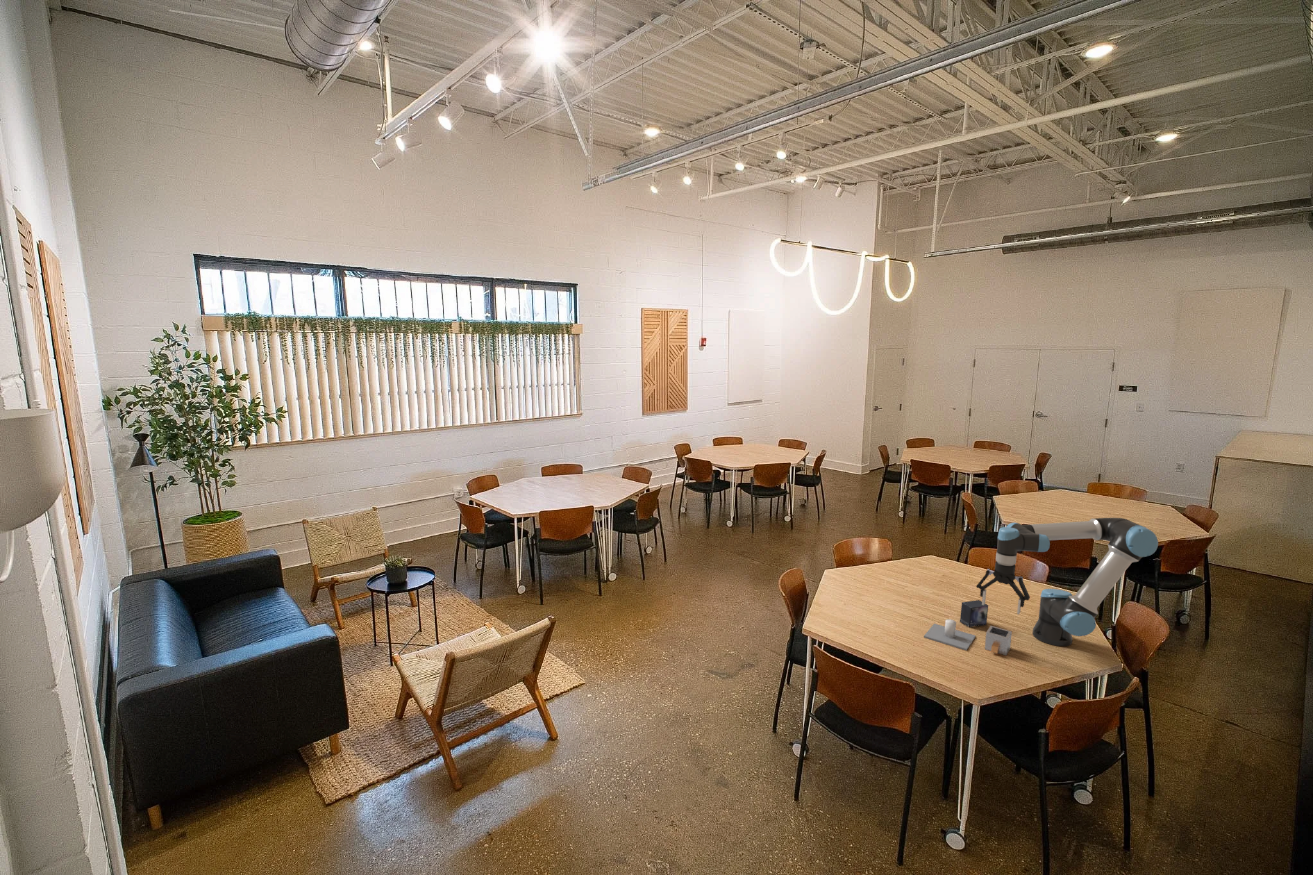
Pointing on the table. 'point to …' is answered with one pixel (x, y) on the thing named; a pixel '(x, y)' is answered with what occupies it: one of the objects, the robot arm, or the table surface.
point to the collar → (998, 640)
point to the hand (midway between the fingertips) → (1000, 608)
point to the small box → (974, 613)
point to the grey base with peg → (950, 635)
